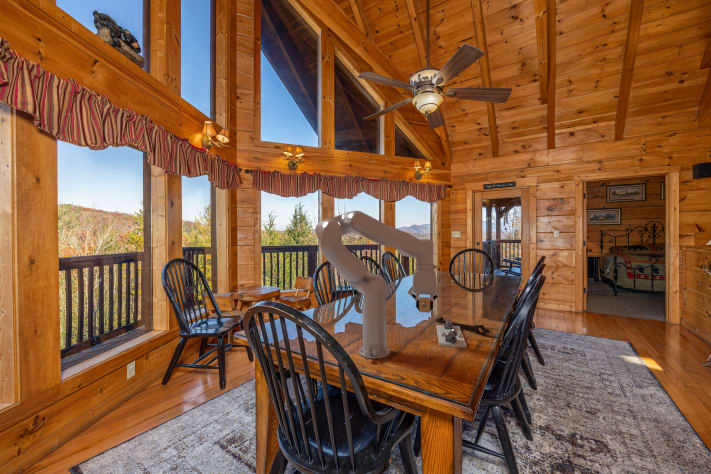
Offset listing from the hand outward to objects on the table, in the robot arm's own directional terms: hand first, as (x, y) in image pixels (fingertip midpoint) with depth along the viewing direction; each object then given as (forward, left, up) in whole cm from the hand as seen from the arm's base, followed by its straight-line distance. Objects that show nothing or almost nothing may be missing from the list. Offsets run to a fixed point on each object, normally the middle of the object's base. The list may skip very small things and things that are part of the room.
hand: (424, 309), depth 125 cm
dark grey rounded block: (+2, -11, -14) cm, 18 cm away
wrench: (+25, -19, -16) cm, 35 cm away
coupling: (0, 0, -1) cm, 1 cm away
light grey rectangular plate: (+11, -12, -15) cm, 22 cm away
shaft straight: (+19, -12, -14) cm, 26 cm away
